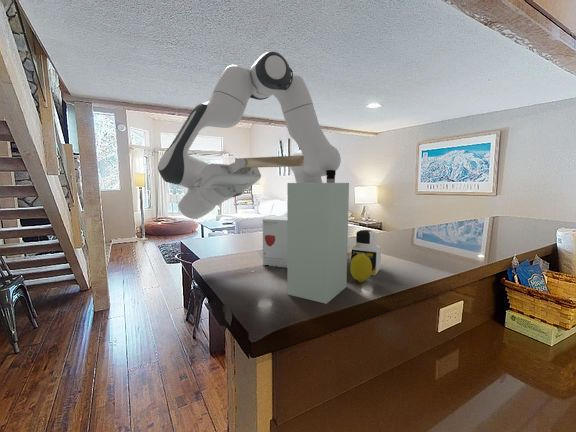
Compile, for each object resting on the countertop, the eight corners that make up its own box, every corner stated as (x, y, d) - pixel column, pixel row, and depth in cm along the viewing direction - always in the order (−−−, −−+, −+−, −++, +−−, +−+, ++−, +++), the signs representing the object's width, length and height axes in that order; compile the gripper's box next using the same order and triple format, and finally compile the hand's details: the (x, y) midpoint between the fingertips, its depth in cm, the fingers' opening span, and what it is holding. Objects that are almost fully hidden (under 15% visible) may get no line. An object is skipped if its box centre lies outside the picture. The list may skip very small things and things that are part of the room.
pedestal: (311, 279, 79) (312, 182, 75) (346, 286, 73) (349, 182, 70) (287, 294, 68) (287, 183, 65) (326, 303, 63) (328, 183, 60)
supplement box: (261, 265, 92) (261, 218, 90) (271, 258, 100) (271, 215, 98) (289, 268, 89) (289, 219, 87) (297, 260, 97) (297, 216, 96)
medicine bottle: (350, 272, 85) (351, 231, 84) (357, 265, 92) (358, 228, 90) (375, 275, 82) (377, 233, 81) (380, 269, 88) (381, 229, 87)
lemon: (345, 280, 78) (346, 251, 77) (363, 278, 80) (364, 249, 79) (357, 287, 73) (358, 256, 72) (376, 284, 75) (377, 254, 74)
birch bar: (241, 167, 81) (240, 159, 81) (304, 166, 71) (304, 156, 71) (235, 167, 79) (235, 158, 79) (299, 165, 69) (299, 155, 68)
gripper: (184, 176, 77) (217, 147, 70) (237, 177, 94) (267, 154, 87) (193, 197, 76) (227, 170, 69) (245, 194, 93) (276, 172, 86)
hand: (250, 161), depth 78 cm, fingers closed on birch bar, 2 cm apart
